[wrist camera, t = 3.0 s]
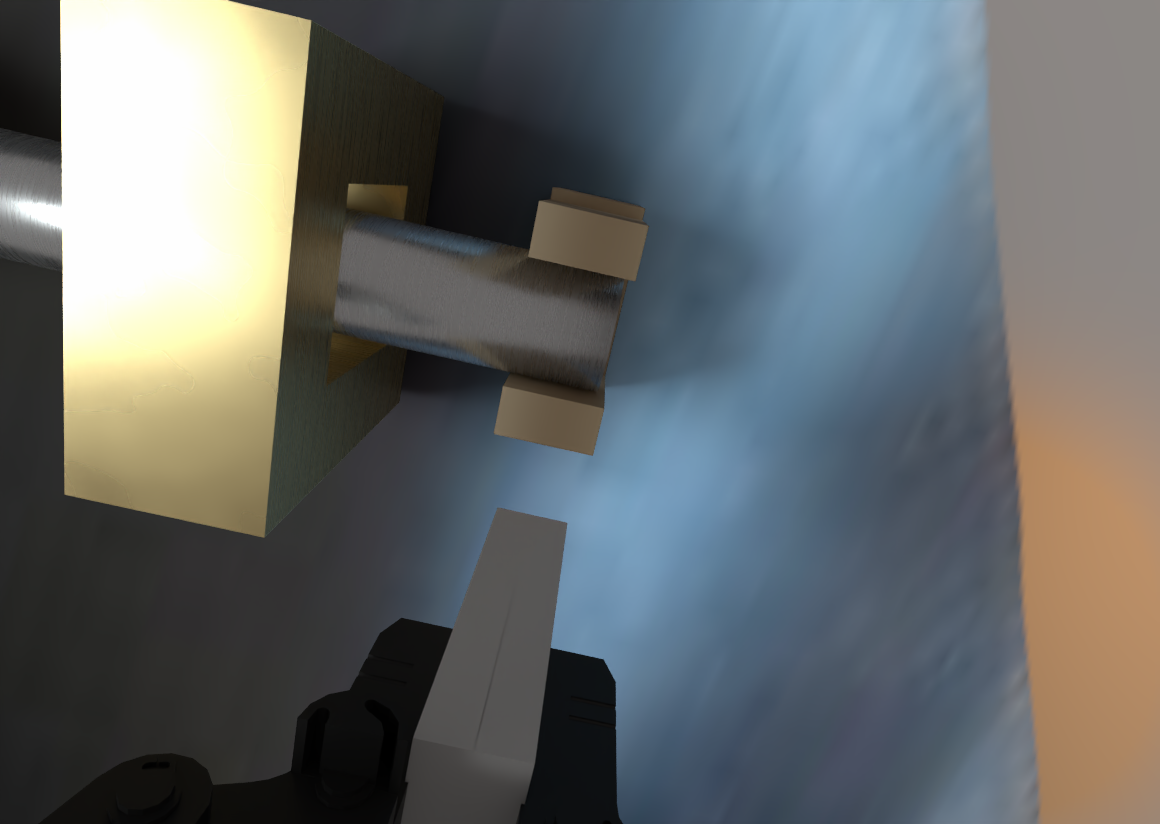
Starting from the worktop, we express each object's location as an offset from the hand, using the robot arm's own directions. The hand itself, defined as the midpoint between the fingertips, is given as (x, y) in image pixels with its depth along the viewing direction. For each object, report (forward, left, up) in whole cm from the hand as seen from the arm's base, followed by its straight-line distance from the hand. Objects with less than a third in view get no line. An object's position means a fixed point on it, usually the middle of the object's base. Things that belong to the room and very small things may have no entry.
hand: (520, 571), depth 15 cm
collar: (-5, -7, -9) cm, 13 cm away
